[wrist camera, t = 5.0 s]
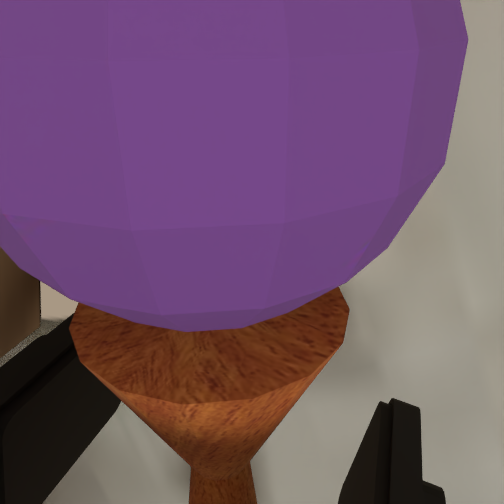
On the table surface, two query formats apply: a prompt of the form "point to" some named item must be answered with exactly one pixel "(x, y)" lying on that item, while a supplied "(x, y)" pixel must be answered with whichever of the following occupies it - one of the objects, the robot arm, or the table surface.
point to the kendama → (216, 191)
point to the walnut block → (17, 304)
